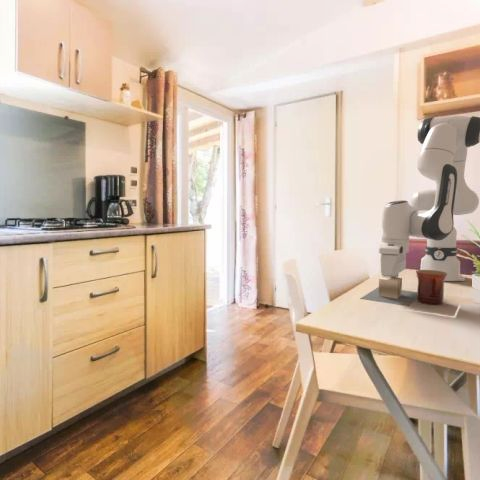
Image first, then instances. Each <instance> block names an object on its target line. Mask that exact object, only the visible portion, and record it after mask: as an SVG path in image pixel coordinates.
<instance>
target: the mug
mask: <svg viewBox="0 0 480 480" xmlns="http://www.w3.org/2000/svg"><path fill="white" fill-rule="evenodd" d="M415 273H416V274H417V276H416V277H417V291H416V292H417V302H419V303H420V304H424V305H430V306H431V305H432V306H439V305H443V301H444V298H445V297H444V293H445V288H444V286H445V282H446V281H445V278H446V276H447V273H446V272H442V271H435V270H420V269H418V270H415ZM416 274H415V275H416Z"/></svg>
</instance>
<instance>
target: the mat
mask: <svg viewBox="0 0 480 480" xmlns="http://www.w3.org/2000/svg"><path fill="white" fill-rule="evenodd" d="M359 299H360V300H366V301H373V302H378V303H379V302H380V303H386V304H390V305H398V306H405V307H410V306H411V305H413V303H414V302H415V301H416V299H417V300H418V298H417V291H410V290H403V289H402V292H401V296H400V297H399V298H397V299H396V298H389V297H382V296H379V286H378V287H376V288H374V289H373V290H372V291H370V292H367V294H365V295H363V296H362V297H360V298H359Z"/></svg>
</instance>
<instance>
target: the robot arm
mask: <svg viewBox="0 0 480 480" xmlns="http://www.w3.org/2000/svg"><path fill="white" fill-rule="evenodd" d="M416 136H417V140H418V142H419V144H421V145H422V146H421V149H420V151H419V154H418V158H417V163H416V164H417V166H416V167H417V170H418V171H419V173H420V175H422V176H423V177H424V178H427V179H429V180H432V181H434V182H435V184H436V188H435V189H425V190H420V191H416V192H414V194H413V195H412V196H411V198H410V202H409V201H408V200H395V201H391V202H386V204H385V205H384V207H383V212H382V221H381V227H382V235H381V245H380V246H379V248H378V253H379V255H380V274H381V276H382V277H383V276H385V277H395V278H399V274H400V273H402V272H403V271H405V270H406V267H407V256H406V255H407V253H410V237H413V238H420V239H426V246H425V248H424V252H425V255H424V256H423V257H422V258H421V261H420V269H419V270H435V271H442V272H446V273H447V276H446V278H445V281H444V282H465V281H466V278H465V277H464V276H463V274H461V272H462V270H461V261H460V260H459V259H458V258H457V255H458V247H457V229H456V227H455V226H454V216H463V215H469V214H473V213H474V212H475V211H476V210H477V209H478V206H479V203H480V202H479V201H480V198H479V196H478V194H477V193H476V192H475V191H474V190H472V189H471V188H470V187H469V186H468V184H467V183H466V179H465V169H466V163H467V162H466V161H467V156H468V148H470V147H474V146H476V145H477V144H479V143H480V117H479V116H466V115H450V116H438V117H435V116H431V117H430V116H429V117H426V118H424V119H422V121H421V122H420V124H419V126H418V129H417V134H416ZM415 276H416V277H417V274H415Z"/></svg>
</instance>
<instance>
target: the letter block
mask: <svg viewBox="0 0 480 480" xmlns="http://www.w3.org/2000/svg"><path fill="white" fill-rule="evenodd" d="M378 287H379V296H382V297H389V298H396V299H397V298H399V297H400V296H401V292H402V290H403V289H402V288H403V278H402V277H398V278H395V277H385V276H382V277H380V278H378Z"/></svg>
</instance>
